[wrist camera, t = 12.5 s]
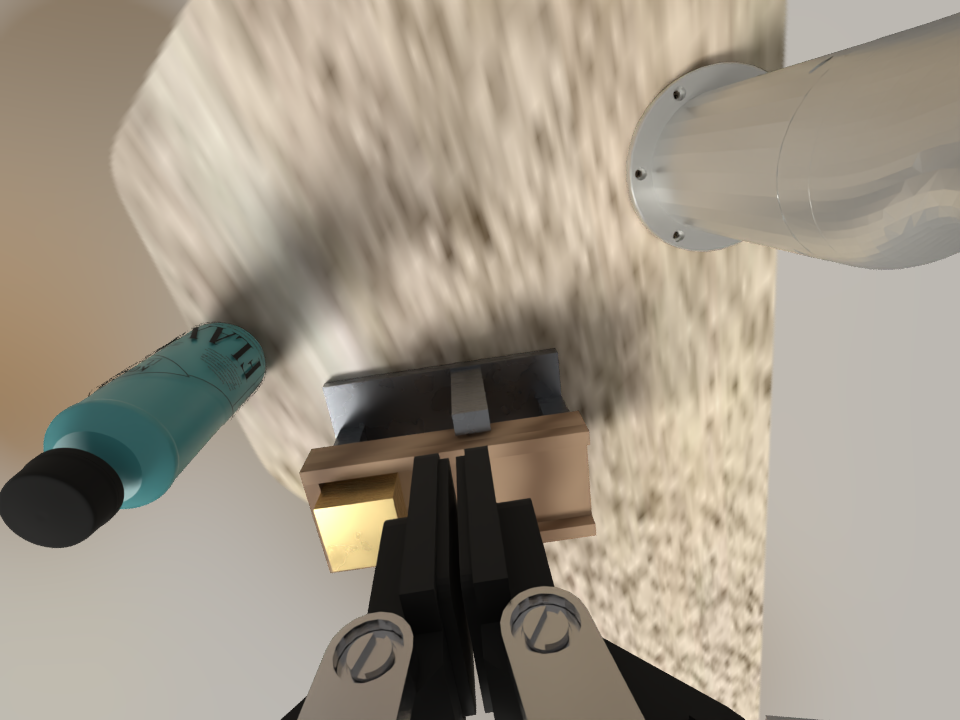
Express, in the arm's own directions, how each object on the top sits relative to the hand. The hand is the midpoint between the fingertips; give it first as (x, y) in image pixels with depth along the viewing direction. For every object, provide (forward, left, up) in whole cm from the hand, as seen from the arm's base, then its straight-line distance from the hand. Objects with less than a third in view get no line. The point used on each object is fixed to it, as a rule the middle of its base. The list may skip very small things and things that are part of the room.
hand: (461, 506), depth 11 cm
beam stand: (+2, +14, -29) cm, 32 cm away
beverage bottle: (+18, +4, -29) cm, 35 cm away
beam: (+2, +14, -22) cm, 26 cm away
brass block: (+8, +14, -20) cm, 26 cm away
